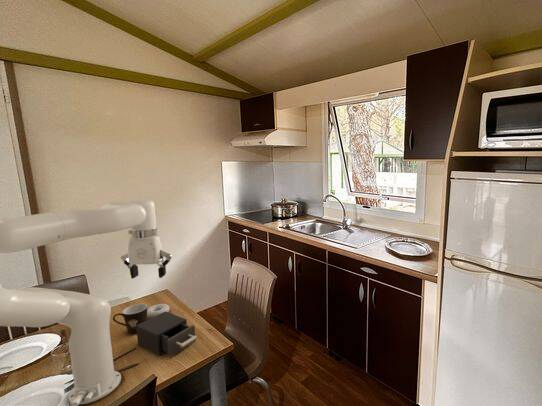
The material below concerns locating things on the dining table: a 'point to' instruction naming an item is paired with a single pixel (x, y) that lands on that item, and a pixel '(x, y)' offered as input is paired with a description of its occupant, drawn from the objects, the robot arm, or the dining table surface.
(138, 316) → the coffee mug
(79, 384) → the robot arm
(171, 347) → the drawer
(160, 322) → the gray drawer box
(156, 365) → the dining table surface
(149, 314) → the donut
